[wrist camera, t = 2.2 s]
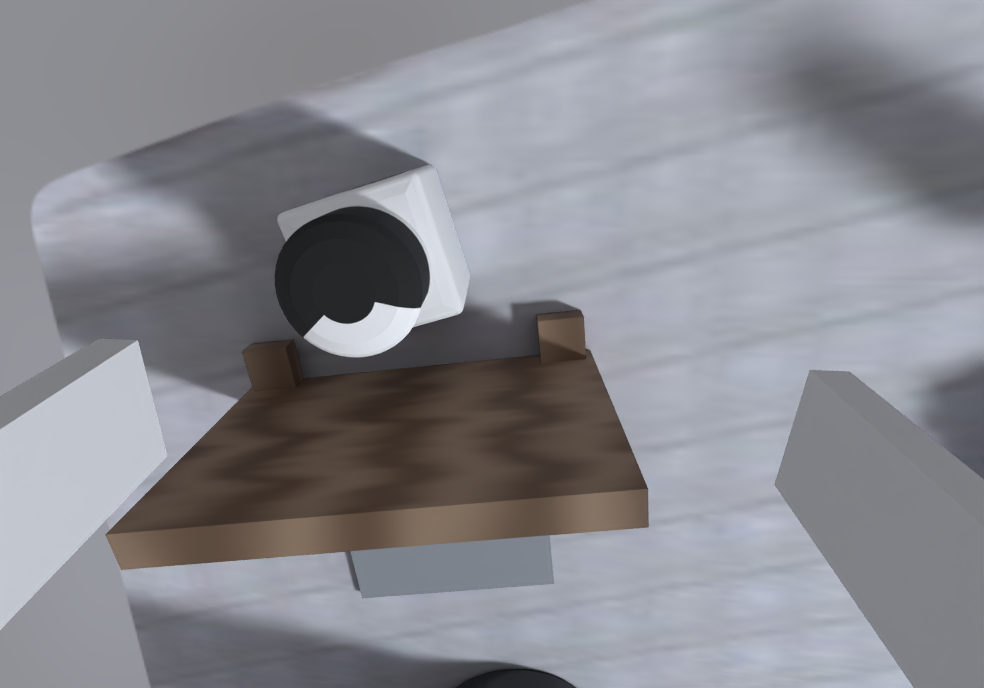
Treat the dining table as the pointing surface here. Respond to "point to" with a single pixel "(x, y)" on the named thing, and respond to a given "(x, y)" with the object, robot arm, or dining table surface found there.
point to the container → (371, 264)
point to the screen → (396, 460)
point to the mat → (454, 566)
